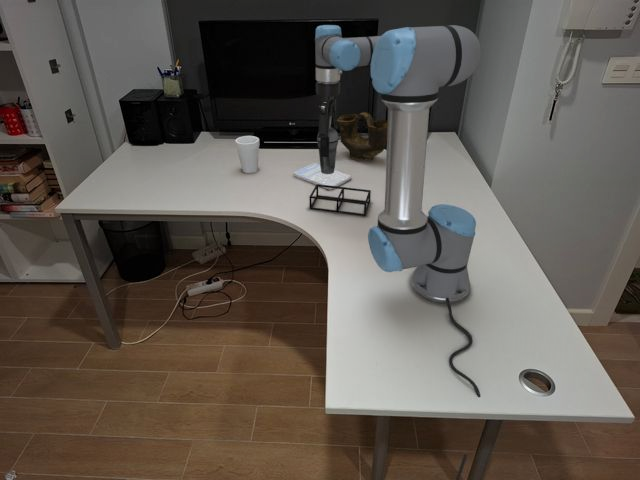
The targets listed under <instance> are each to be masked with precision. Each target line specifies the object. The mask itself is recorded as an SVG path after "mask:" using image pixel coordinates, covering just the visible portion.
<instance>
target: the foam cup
mask: <svg viewBox="0 0 640 480" xmlns="http://www.w3.org/2000/svg"><path fill="white" fill-rule="evenodd" d="M234 143H235V147H236V151H237V154H238V159H239V163H240V166H241V169H242V172H243V173H245V174H246V173H247V174H253V173H256V172H257V171H258V169H259V158H260V157H259V153H260V138H259V137H257V136H253V135H243V136H239V137H237V138H235V142H234Z"/></svg>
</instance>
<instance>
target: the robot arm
mask: <svg viewBox="0 0 640 480" xmlns="http://www.w3.org/2000/svg"><path fill="white" fill-rule="evenodd" d="M314 43H315V44H314V45H315V46H314V47H315V81H316V82H315V94H316V95H317V96H318V97H321V100H320V104H319V106H318V133H319V136H318V135H317V136H318V138H320V142H321V157H329V137H328V134H329V123H330V116H332V118H331V127H332V128H334V129H335V130H336V129H338V125H337V123H338V121H337V97H338V96H339V95H340V94H341V82H340V81H341V75H342V74H343V71H345V72H347V71H352V70H353V69H355V68H357V67H358V68H359V67H369V66H370V78H371V79H372V81H371V84H372V87H373V88H374V90H375V91H376V92H377V93H379V94H380V100H381V102H382V103H383V104H384V105H385V106H386V108H387V121H388V122H387V140H386V153H385V155H386V157H385V184H384V185H385V186H384V187H385V188H384V209H383V210H382V211H380V212H379V213H378V215H377V225H373V226H372V227H370V228H369V230H368V233H367V241H368V247H369V250H370V253H371V255H372V258H373V259H374V261H375V263H376V265H377V266H378V267H379V268H380V269H381V270H382V271H383V272H386V273H393V272H403V271H404V270H409V269H413V268H415V269H414V271H413V272H412V276H411V285H412V288H413V290H414V291H415V292H416V293H417V295H419V296H420V297H421V298H423V299H425V300H427V301H430V302H433V303H437V304H444V305H445V304H446V305H447V309H448V315H449V319H450V321H451V322H452V323H453V325H454V326H455V327H457V329H459V330H460V331H462V333H464V334H465V335H466V336H467V337H468V343H467V344H466V345H465V346H463V347H461V348H459V349H457V350H455V351H453V352H452V353H451V354H450V355H449V358H448V364H449V367H450V368H451V370H452V371H453V372H454V373H455V374H457V375H459V376H460V377H461V378H463V379H464V380H466V381H467V382H468V383H469V384H470V385H471V386H472V388H473V389H474V391H475V394H476V397H477V398H481V391H480V389H479V388H478V386H477V384H476V383H475V382H474V381H473V379H472V378H470V377H469V376H467V375H466V374H465V373H463V372H462V371H460V370H459V369H457V368H456V366H455V365H454V364H453V359H454V358H455V356H457V355H458V354H460V353H463V352H464V351H466V350H468V349H469V348H471V346H472V344H473V337H472V334H471V333H470V331H468V330H467V329H466V328H464V327H463V326H462V325H460V324H459V323H458V322H457V321H456V320H455V319H454V316H453V311H452V306H451V304H456V303H459V302H461V301H463V300H465V299H466V298H467V297H468V295H469V292H470V288H471V283H470V282H471V281H470V277H469V270H468V263H469V260H470V256H471V252H472V247H473V243H474V238H475V236H476V229H477V221H476V218H475V217H474V215H472V214H471V212H469V211H468V210H465V209H464V208H462V207H459V206H456V205H452V204H444V203H443V204H442V203H441V204H435V205H432V206H431V207H430V209H429V210H428V212H427V214H428V215H427V214H426V213H425V212H424V211H423V197H424V196H423V195H424V186H425V185H424V183H425V173H426V159H427V158H426V157H427V146H428V145H427V144H428V132H429V118H430V116H429V115H430V109H431V107H432V106H433V105H434V104H435V103H436V102H438V99H439V88H445V87H446V88H447V87H451V86H452V87H453V86H455V85H458V84H460V83H462V82H464V81H466V80H467V79H468V78H470V76H472V75H473V73H474V72H475V71H476V70H477V68H478V66H479V63H480V60H481V56H482V48H481V43H480V41H479V38H478V37H477V35H476V34H475V33H474V32H473V31H472V30H470V29H469V28H467V27H465V26H461V25H454V24H450V25H449V24H448V25H438V26H437V25H435V26H434V25H433V26H415V27H414V26H413V27H409V26H406V27H399V28H395V29H389V30H387V31H385V32H384V33H383V34H382V35H374V36H361V37H360V36H358V37H343V34H342V28H341V26H339V25H336V24H322V25H318V26H316V28H315V38H314ZM467 457H468V454H463V456H462V460H461V463H460V466H459V469H458V472H457V475H456V478H455V480H460V478H461V476H462V472H463V470H464V467H465V464H466V462H467Z"/></svg>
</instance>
